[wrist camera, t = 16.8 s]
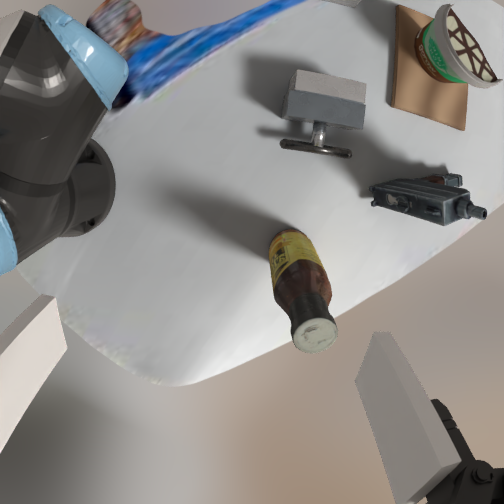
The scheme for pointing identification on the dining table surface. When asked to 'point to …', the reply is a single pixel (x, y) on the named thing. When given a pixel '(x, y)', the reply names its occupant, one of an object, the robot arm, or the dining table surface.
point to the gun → (428, 198)
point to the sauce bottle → (302, 290)
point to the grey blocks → (324, 105)
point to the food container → (452, 52)
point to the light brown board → (423, 78)
